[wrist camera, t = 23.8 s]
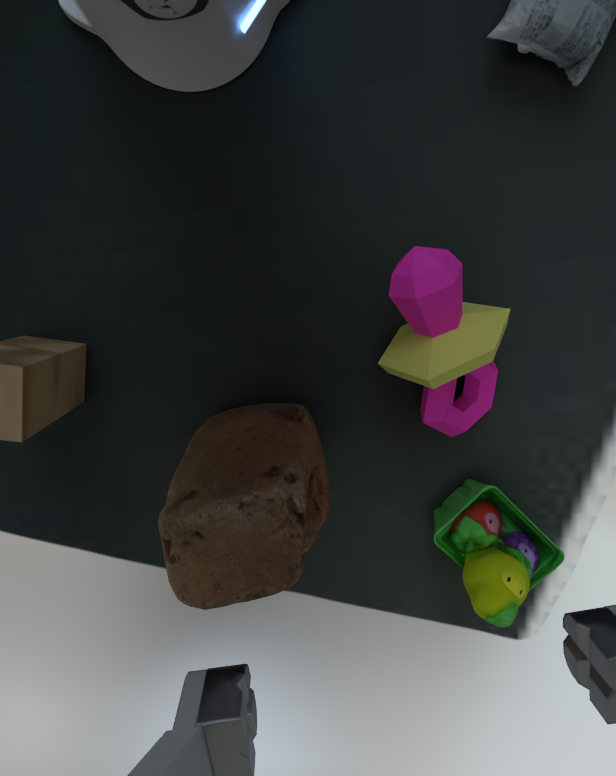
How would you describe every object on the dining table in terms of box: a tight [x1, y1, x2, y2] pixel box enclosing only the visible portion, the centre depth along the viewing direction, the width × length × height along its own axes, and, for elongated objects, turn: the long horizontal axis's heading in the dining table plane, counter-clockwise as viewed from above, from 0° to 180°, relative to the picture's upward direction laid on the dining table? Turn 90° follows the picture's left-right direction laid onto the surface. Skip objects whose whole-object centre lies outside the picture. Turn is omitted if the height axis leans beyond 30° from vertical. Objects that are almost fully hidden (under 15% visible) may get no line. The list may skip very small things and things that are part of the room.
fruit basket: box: [433, 478, 564, 627], centre depth 44 cm, size 11×9×11 cm
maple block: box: [0, 336, 86, 442], centre depth 39 cm, size 6×6×11 cm
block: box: [158, 403, 330, 610], centre depth 37 cm, size 11×8×20 cm
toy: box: [378, 246, 510, 437], centre depth 41 cm, size 10×18×10 cm, turn 25°
